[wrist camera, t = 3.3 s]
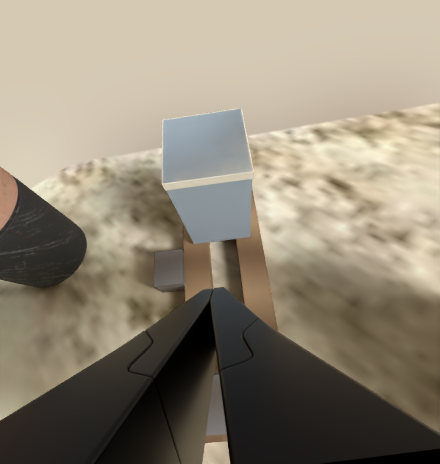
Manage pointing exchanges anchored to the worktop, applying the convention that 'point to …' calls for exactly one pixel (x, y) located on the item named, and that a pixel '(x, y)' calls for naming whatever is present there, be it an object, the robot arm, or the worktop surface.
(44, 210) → the travel mug
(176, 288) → the beam
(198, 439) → the robot arm
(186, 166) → the block
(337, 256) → the worktop surface
